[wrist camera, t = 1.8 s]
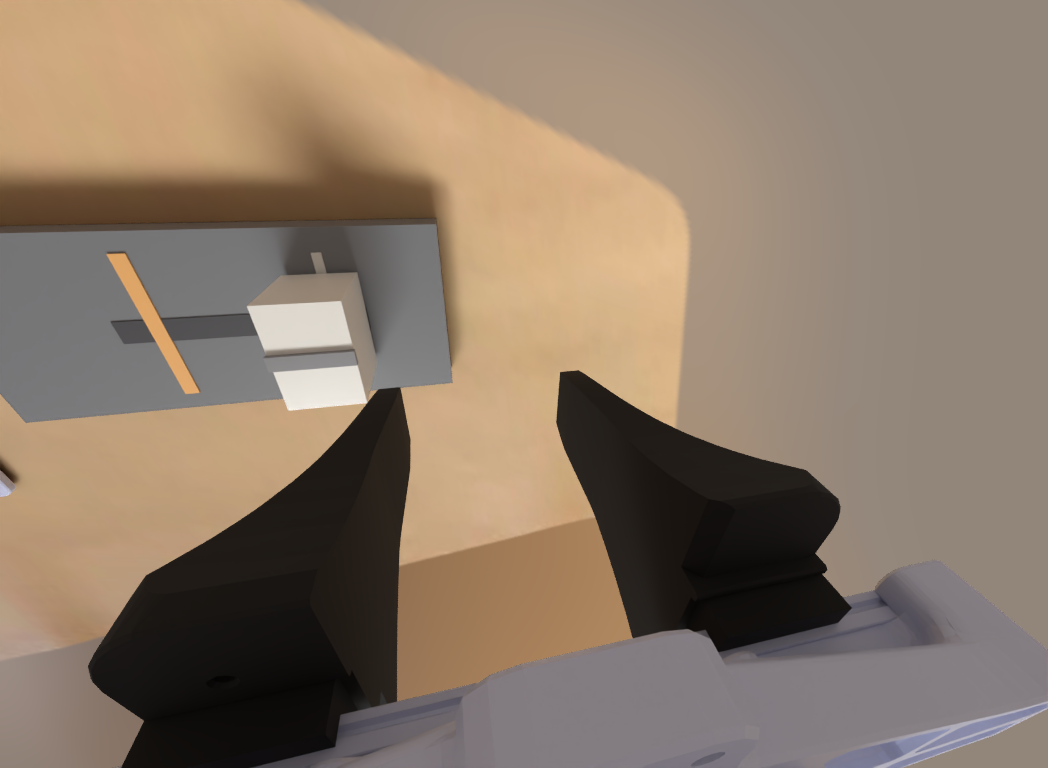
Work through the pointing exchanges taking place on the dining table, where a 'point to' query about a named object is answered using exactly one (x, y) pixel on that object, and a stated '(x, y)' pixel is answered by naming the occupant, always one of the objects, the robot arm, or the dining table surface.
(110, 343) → the console
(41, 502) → the dining table surface
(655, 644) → the robot arm
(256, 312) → the block
